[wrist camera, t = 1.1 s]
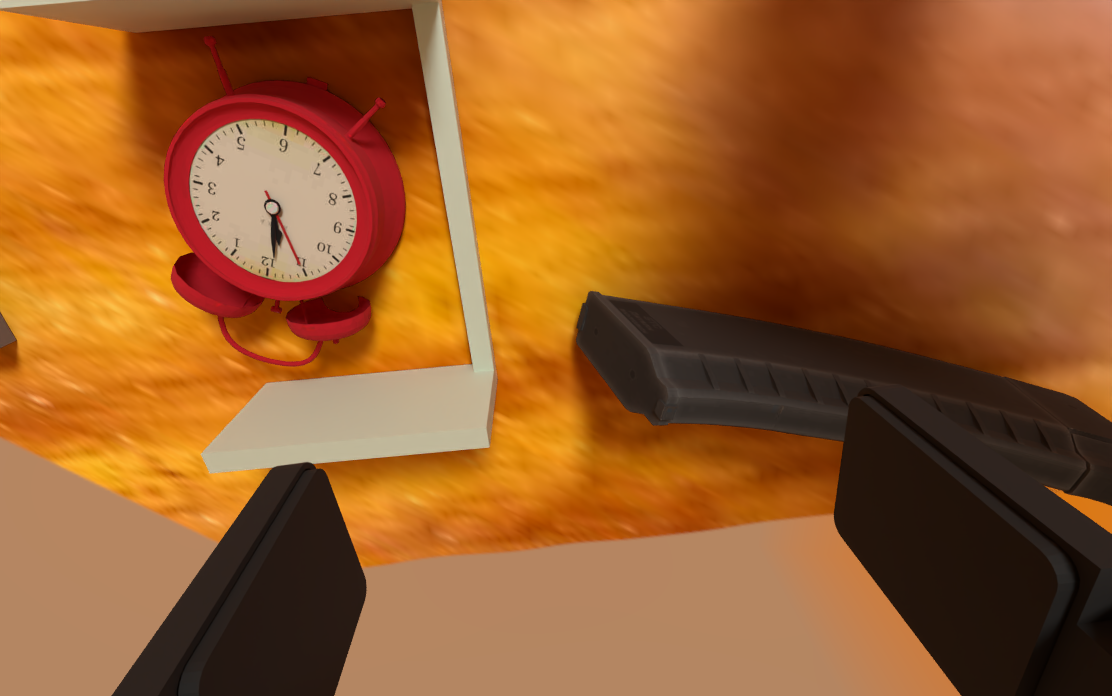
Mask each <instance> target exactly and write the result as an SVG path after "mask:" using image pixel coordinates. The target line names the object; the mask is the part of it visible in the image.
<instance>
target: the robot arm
mask: <svg viewBox="0 0 1112 696" xmlns="http://www.w3.org/2000/svg"><path fill="white" fill-rule="evenodd" d="M834 521H835V525H836V528H837V530H838V532H839V534H840V536H841V537H842V538H843V540H844V541H845V542H846V544H847V545H848V546H849V548H850V549H851V550H852V552H853V553H854V554H855V556H856V557H857V558H858V560H859V561H860V562H861V564H862V565H863V566H864V568H865V569H866V570H867V571H868V573H869V574H870V575H871V577H872V578H873V579H874V581H875V582H876V583H877V585H878V586H879V587H880V589H881V590H882V591H883V593H884V594H885V595H886V597H887V598H888V599H889V601H890V602H891V603H892V604H893V606H894V607H895V609H896V610H897V611H898V613H899V614H900V615H901V616H902V618H903V619H904V620H905V622H906V623H907V624H908V626H909V627H910V628H911V630H912V631H913V632H914V633H915V635H916V636H917V638H918V639H919V640H920V642H921V643H922V644H923V646H924V647H925V648H926V650H927V651H928V652H929V653H930V655H931V656H932V657H933V659H934V660H935V661H936V663H937V664H938V665H939V667H940V668H941V669H942V671H943V672H944V673H945V674H946V676H947V677H948V679H949V680H950V681H951V683H952V684H953V685H954V686H955V688H956V689H957V691H958V692H959V693H960V695H961V696H1112V534H1111V533H1109V532H1108V531H1106V530H1105V529H1104V528H1102V527H1101V526H1099V525H1098V524H1097V523H1095V522H1094V521H1093V520H1091V519H1090V518H1088V517H1087V516H1085V515H1084V514H1083V513H1081V512H1080V511H1079V510H1077V509H1076V508H1074V507H1073V506H1071V505H1070V504H1069V503H1067V502H1066V501H1064V500H1063V499H1061V498H1060V497H1059V496H1057V495H1056V494H1055V493H1053V492H1052V491H1050V490H1049V489H1048V488H1046V487H1045V486H1043V485H1042V484H1041V483H1039V482H1038V481H1036V480H1035V479H1034V478H1032V477H1031V476H1029V475H1028V474H1027V473H1025V472H1024V471H1022V470H1021V469H1020V468H1018V467H1017V466H1015V465H1014V464H1013V463H1011V462H1010V461H1008V460H1007V459H1006V458H1004V457H1003V456H1001V455H1000V454H998V453H997V452H996V451H994V450H993V449H991V448H990V447H989V446H987V445H986V444H984V443H983V442H982V441H980V440H979V439H977V438H976V437H975V436H973V435H972V434H970V433H969V432H968V431H966V430H965V429H963V428H962V427H961V426H959V425H958V424H956V423H955V422H954V421H952V420H951V419H949V418H948V417H947V416H945V415H944V414H942V413H941V412H940V411H938V410H937V409H935V408H934V407H932V406H931V405H930V404H928V403H927V402H925V401H924V400H923V399H921V398H920V397H918V396H917V395H916V394H914V393H913V392H911V391H910V390H909V389H907V388H906V387H904V386H902V385H900V384H890V385H882V386H875V387H867V388H863V389H861V390H860V392H859V393H858V395H857V397H855V398H853V399H852V400H851V401H850V404H849V409H848V416H847V423H846V430H845V437H844V445H843V452H842V459H841V466H840V473H839V480H838V488H837V495H836V502H835V509H834ZM365 597H366V579H365V576H364V573H363V570H362V568H361V565H360V562H359V560H358V557H357V554H356V552H355V549H354V546H353V544H352V541H351V538H350V536H349V533H348V530H347V528H346V525H345V522H344V520H343V517H342V514H341V512H340V509H339V506H338V504H337V501H336V498H335V496H334V493H333V490H332V487H331V485H330V482H329V479H328V477H327V475H326V473H325V471H324V470H323V469H316V468H315V466H314V465H313V464H312V463H310V462H303V463H296V464H288V465H281V466H276V467H273V468H272V469H271V470H270V471H269V473H268V474H267V476H266V477H265V479H264V480H263V481H262V483H261V484H260V486H259V487H258V488H257V490H256V491H255V493H254V494H253V496H252V497H251V498H250V500H249V501H248V503H247V504H246V505H245V507H244V508H243V510H242V511H241V513H240V514H239V515H238V517H237V518H236V520H235V521H234V523H233V524H232V525H231V527H230V528H229V530H228V531H227V532H226V534H225V535H224V537H223V538H222V540H221V541H220V542H219V544H218V545H217V547H216V548H215V550H214V551H213V552H212V554H211V555H210V557H209V558H208V560H207V561H206V562H205V564H204V565H203V567H202V568H201V569H200V571H199V572H198V574H197V575H196V577H195V578H194V579H193V581H192V582H191V584H190V585H189V586H188V588H187V589H186V591H185V592H184V594H183V595H182V596H181V598H180V599H179V601H178V602H177V604H176V605H175V607H174V608H173V609H172V611H171V612H170V613H169V615H168V616H167V618H166V619H165V621H164V622H163V624H162V625H161V626H160V628H159V629H158V631H157V632H156V633H155V635H154V636H153V638H152V639H151V640H150V642H149V643H148V645H147V646H146V648H145V649H144V651H143V652H142V653H141V655H140V656H139V658H138V659H137V660H136V662H135V663H134V665H133V666H132V667H131V669H130V670H129V672H128V673H127V675H126V676H125V677H124V679H123V680H122V682H121V683H120V684H119V686H118V687H117V689H116V690H115V692H114V693H113V695H112V696H334V695H335V691H336V688H337V685H338V682H339V679H340V676H341V673H342V670H343V667H344V663H345V660H346V657H347V654H348V651H349V648H350V645H351V642H352V639H353V635H354V632H355V629H356V626H357V623H358V620H359V617H360V613H361V611H362V608H363V604H364V601H365Z"/></svg>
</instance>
